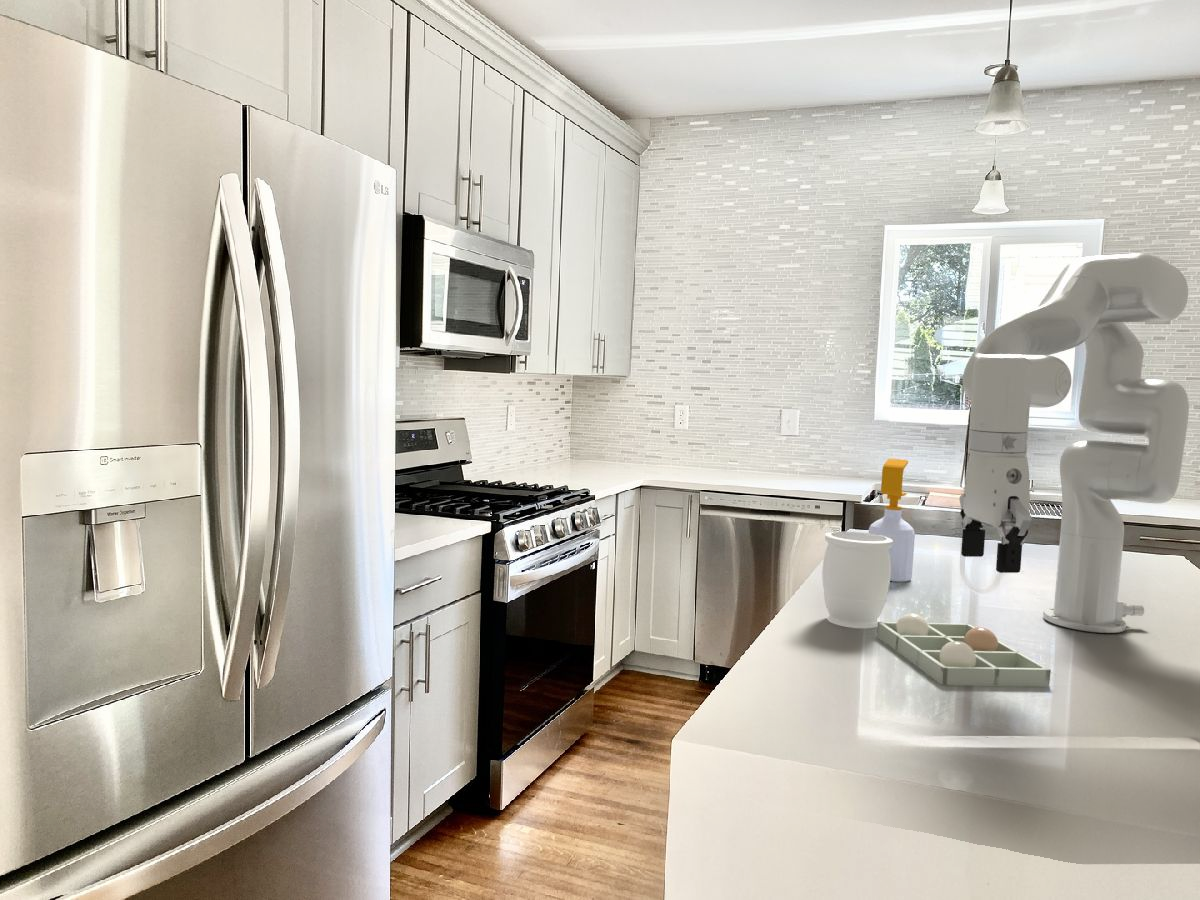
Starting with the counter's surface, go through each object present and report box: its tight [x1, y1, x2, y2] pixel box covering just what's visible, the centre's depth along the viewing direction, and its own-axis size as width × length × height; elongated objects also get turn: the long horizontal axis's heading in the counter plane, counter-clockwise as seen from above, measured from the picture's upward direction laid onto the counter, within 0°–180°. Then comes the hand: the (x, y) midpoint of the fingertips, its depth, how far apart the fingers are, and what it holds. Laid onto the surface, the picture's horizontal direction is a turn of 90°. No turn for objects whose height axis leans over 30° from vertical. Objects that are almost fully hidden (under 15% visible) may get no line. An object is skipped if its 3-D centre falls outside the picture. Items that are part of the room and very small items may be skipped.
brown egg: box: [963, 626, 999, 651], centre depth 127 cm, size 5×5×5 cm
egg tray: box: [876, 621, 1052, 688], centre depth 127 cm, size 15×22×3 cm
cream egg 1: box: [896, 612, 929, 636], centre depth 133 cm, size 5×5×5 cm
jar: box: [821, 531, 893, 629], centre depth 144 cm, size 11×10×15 cm
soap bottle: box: [868, 458, 916, 583], centre depth 184 cm, size 9×9×25 cm
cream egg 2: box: [939, 641, 976, 667], centre depth 119 cm, size 5×5×5 cm
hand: (989, 563), depth 126 cm, fingers open, 9 cm apart
